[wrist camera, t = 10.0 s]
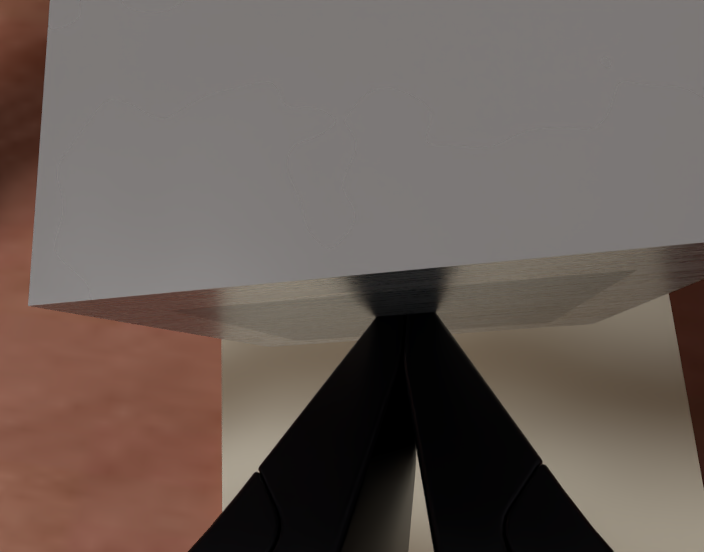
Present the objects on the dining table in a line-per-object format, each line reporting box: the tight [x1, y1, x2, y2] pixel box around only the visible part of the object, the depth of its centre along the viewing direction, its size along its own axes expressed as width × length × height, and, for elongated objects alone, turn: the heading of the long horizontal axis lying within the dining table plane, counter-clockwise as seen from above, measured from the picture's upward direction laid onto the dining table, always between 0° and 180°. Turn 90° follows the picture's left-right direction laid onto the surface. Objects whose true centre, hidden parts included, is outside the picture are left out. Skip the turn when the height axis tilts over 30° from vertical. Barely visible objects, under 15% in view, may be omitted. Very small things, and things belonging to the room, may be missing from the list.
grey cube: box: [28, 0, 704, 347], centre depth 9 cm, size 7×7×7 cm
